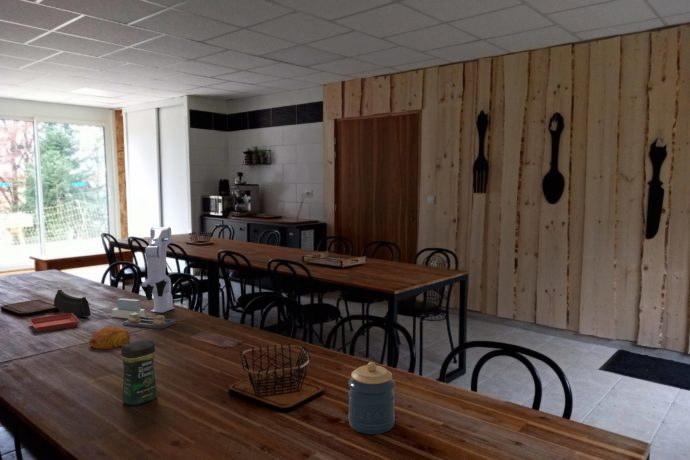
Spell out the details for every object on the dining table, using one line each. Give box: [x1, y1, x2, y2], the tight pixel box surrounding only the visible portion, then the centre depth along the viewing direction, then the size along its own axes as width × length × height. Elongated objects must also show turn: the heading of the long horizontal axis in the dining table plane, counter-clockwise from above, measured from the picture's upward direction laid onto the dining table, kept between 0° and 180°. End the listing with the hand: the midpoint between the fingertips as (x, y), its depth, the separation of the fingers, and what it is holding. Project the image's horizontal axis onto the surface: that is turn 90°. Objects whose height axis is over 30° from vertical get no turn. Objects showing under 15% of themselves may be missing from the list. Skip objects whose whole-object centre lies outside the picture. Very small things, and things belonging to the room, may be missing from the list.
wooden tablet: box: [190, 331, 244, 349], centre depth 210 cm, size 26×2×10 cm
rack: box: [122, 316, 176, 330], centre depth 233 cm, size 10×22×2 cm, turn 71°
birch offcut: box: [153, 314, 166, 323], centre depth 229 cm, size 3×3×2 cm
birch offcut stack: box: [127, 313, 140, 323], centre depth 233 cm, size 4×4×5 cm
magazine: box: [53, 289, 92, 318], centre depth 250 cm, size 17×3×30 cm
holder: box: [110, 307, 147, 320], centre depth 246 cm, size 6×16×4 cm, turn 71°
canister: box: [347, 361, 396, 435], centre depth 137 cm, size 13×13×18 cm
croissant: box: [88, 325, 131, 350], centre depth 205 cm, size 14×16×8 cm
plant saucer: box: [29, 313, 80, 333], centre depth 231 cm, size 18×18×3 cm
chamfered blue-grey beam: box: [116, 297, 141, 311], centre depth 245 cm, size 2×12×8 cm, turn 71°
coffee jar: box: [120, 338, 158, 406], centre depth 152 cm, size 10×8×19 cm
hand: (154, 298), depth 240 cm, fingers open, 7 cm apart
